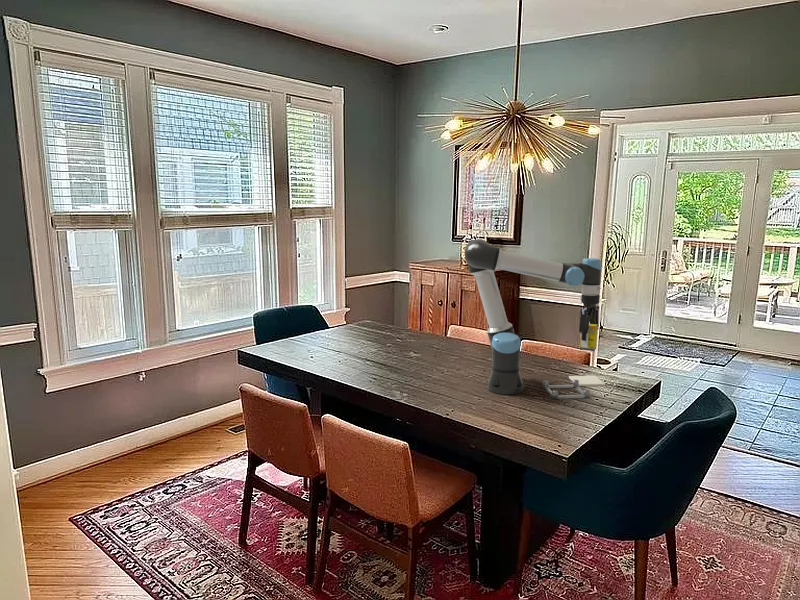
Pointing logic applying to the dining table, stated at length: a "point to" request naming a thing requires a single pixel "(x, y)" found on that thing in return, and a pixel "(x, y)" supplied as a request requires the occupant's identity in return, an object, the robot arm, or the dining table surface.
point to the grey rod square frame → (575, 385)
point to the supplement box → (591, 338)
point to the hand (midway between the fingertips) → (588, 345)
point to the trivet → (588, 380)
